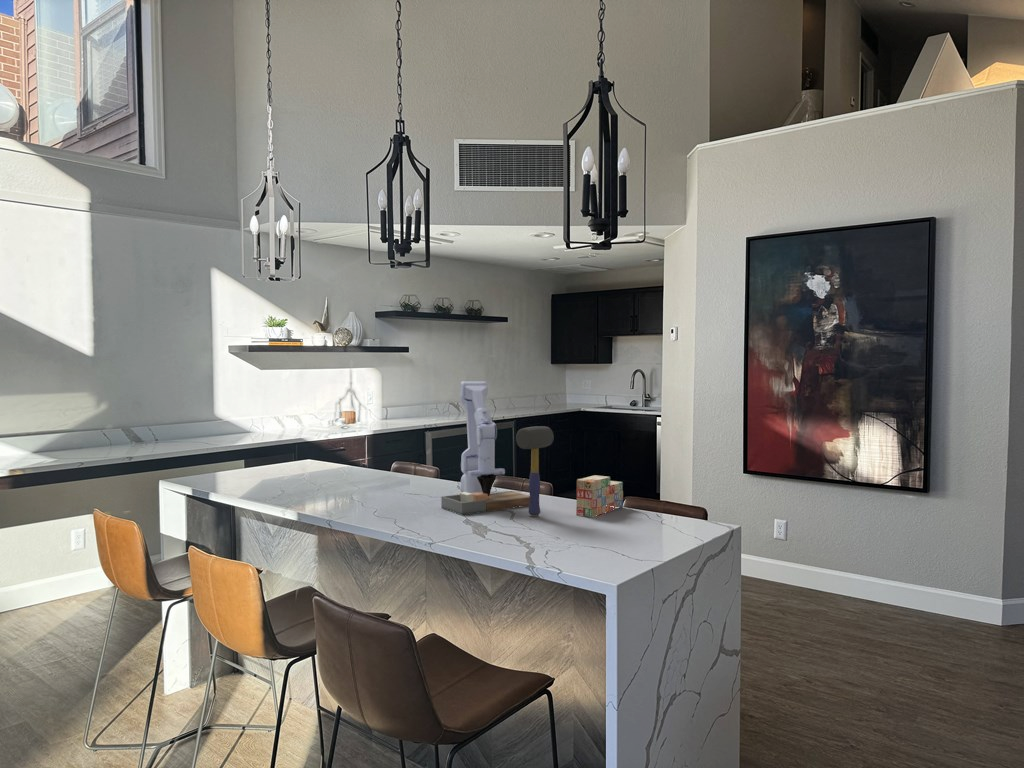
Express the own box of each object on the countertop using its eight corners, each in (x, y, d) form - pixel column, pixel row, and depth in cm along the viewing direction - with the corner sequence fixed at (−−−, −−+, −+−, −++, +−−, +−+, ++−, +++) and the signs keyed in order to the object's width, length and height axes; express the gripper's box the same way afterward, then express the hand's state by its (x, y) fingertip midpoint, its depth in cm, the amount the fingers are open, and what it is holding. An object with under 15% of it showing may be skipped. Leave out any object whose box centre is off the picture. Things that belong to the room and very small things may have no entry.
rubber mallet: (530, 520, 229) (531, 428, 228) (513, 517, 234) (514, 426, 233) (554, 515, 238) (555, 425, 237) (538, 511, 243) (538, 424, 242)
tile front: (466, 505, 249) (461, 506, 248) (464, 491, 249) (459, 493, 247) (473, 507, 245) (468, 509, 244) (472, 493, 245) (467, 495, 243)
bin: (441, 507, 249) (441, 496, 249) (465, 504, 254) (465, 493, 254) (462, 514, 237) (462, 502, 237) (486, 511, 243) (486, 499, 243)
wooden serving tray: (465, 504, 254) (465, 496, 254) (511, 499, 266) (511, 491, 266) (487, 511, 243) (487, 502, 243) (533, 505, 254) (533, 496, 254)
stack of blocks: (607, 505, 255) (608, 471, 255) (623, 508, 251) (623, 473, 251) (575, 515, 238) (576, 479, 238) (592, 518, 234) (592, 481, 234)
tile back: (468, 498, 250) (468, 493, 250) (480, 497, 252) (480, 491, 252) (475, 501, 245) (475, 495, 245) (487, 499, 248) (487, 494, 248)
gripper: (475, 460, 243) (475, 499, 243) (509, 457, 252) (509, 495, 252) (464, 458, 249) (464, 496, 249) (498, 455, 257) (498, 492, 258)
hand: (486, 496), depth 251 cm, fingers closed
